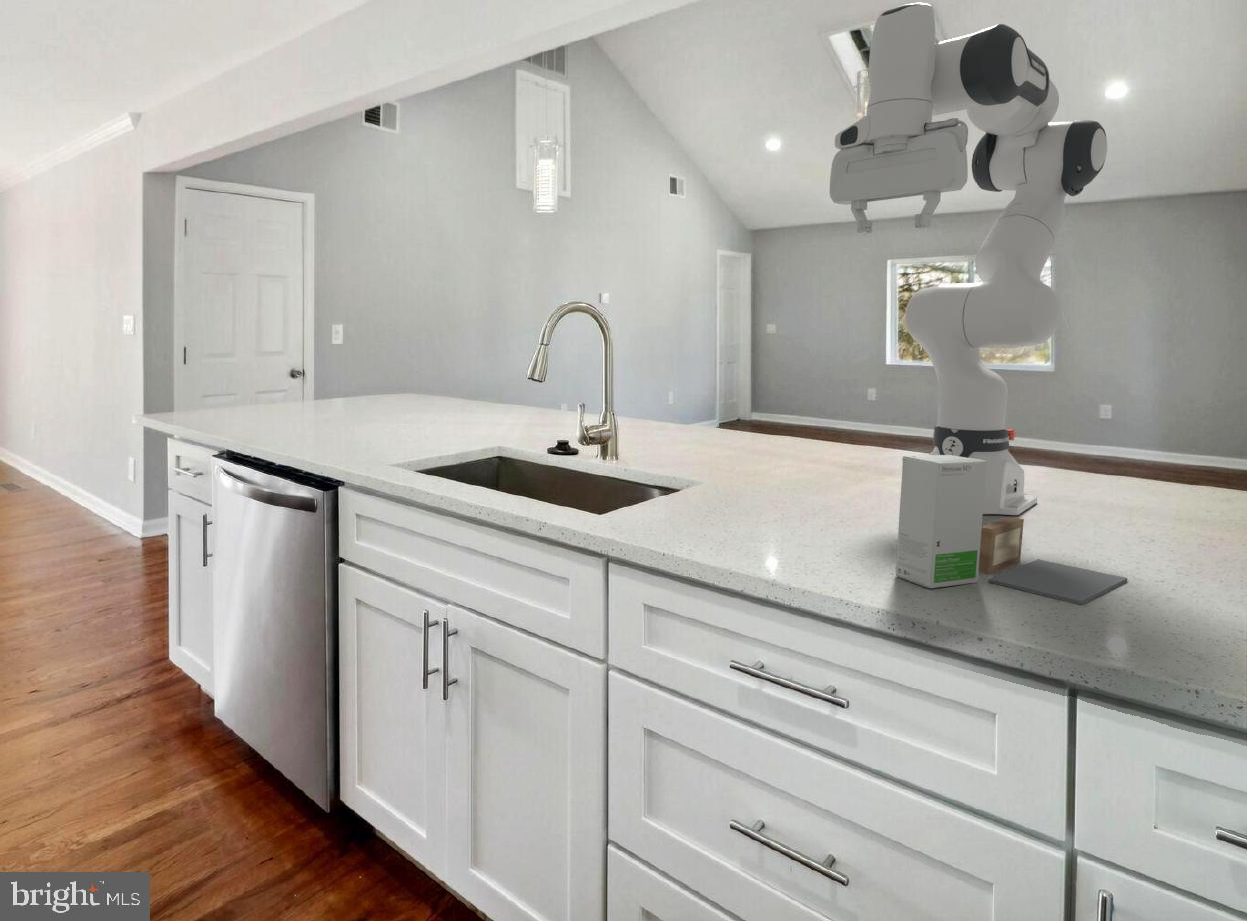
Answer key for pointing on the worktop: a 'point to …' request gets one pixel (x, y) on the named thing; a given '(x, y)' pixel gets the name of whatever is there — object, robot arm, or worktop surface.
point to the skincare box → (940, 520)
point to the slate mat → (1058, 581)
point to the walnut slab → (1000, 544)
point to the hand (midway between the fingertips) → (892, 230)
